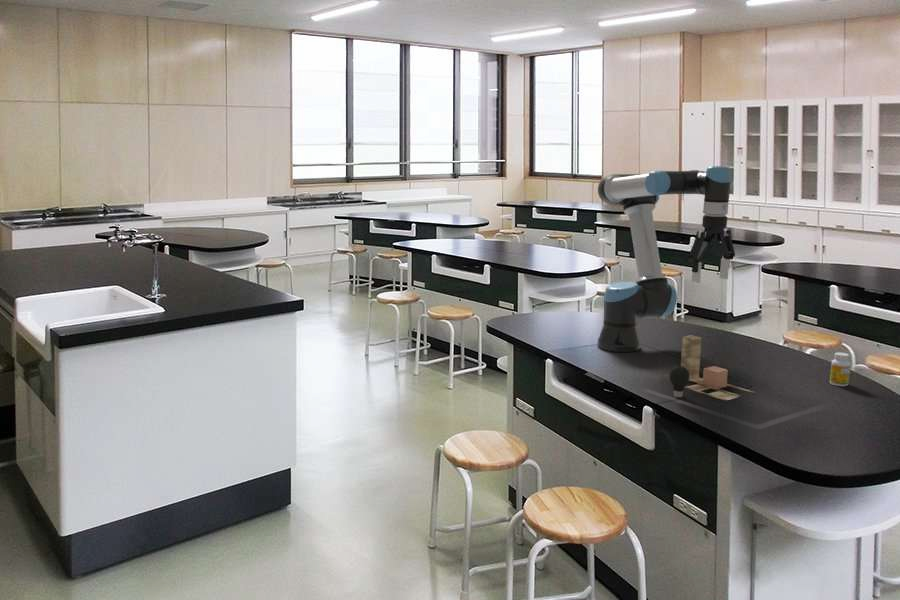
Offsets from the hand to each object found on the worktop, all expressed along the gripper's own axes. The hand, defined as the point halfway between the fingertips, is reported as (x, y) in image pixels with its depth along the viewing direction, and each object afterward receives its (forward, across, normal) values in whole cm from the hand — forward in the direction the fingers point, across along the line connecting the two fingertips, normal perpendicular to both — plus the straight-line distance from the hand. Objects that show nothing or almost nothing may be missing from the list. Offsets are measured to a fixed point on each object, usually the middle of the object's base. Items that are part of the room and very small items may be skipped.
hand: (709, 280), depth 267 cm
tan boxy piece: (+29, -15, -13) cm, 35 cm away
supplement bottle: (+29, +22, -35) cm, 51 cm away
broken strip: (+29, -22, -21) cm, 42 cm away
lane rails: (+29, -18, -21) cm, 41 cm away
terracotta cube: (+28, -15, -17) cm, 36 cm away
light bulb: (+29, -33, -19) cm, 48 cm away
